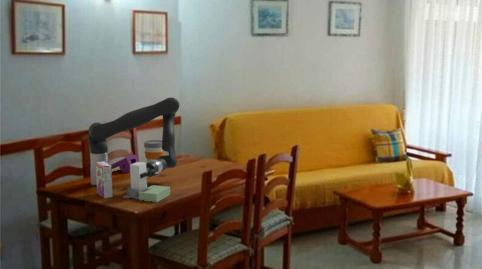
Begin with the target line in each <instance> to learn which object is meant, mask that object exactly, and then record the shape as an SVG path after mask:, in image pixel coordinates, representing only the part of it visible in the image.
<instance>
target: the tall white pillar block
mask: <svg viewBox="0 0 482 269" xmlns="http://www.w3.org/2000/svg"><path fill="white" fill-rule="evenodd" d="M146 163H147V162H143V161H141V162H140V161H139V162H136V163H134V164H131V165H130V172H129V177H130V186H131V189H136V190H137V194H139V193H138V192H140V191H142V190H144V189H146V188H148V184H147V183H148V181H147V178H148V177H144V178H140V174H142V173H145V172H146Z"/></svg>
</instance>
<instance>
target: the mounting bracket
mask: <svg viewBox="0 0 482 269" xmlns="http://www.w3.org/2000/svg"><path fill="white" fill-rule="evenodd" d="M136 162H140V160H139V157H138V155H137V154H133V155H130V156H129V155H128V156H126V157H123V158H122V159H120V160H118V161H116V162H114V163H112V164H110V165H111V168H112V169H116V168H119V169H120V171H121V172H122V173H125V174H128V173H130V165H131V164H134V163H136Z"/></svg>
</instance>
